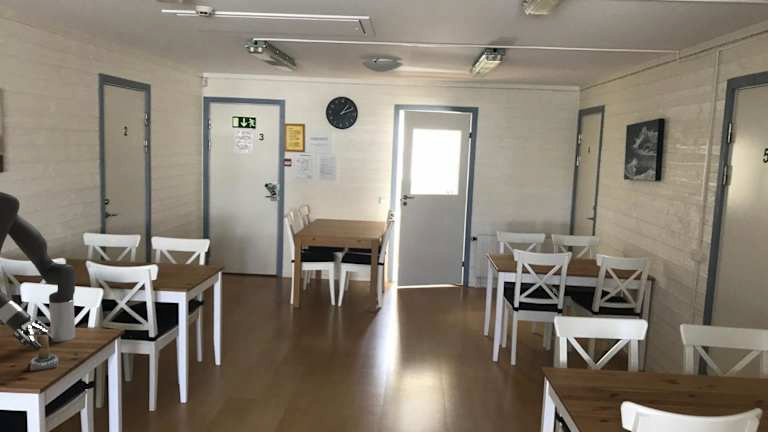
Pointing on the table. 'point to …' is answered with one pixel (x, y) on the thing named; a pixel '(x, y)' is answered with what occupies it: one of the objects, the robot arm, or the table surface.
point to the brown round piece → (43, 349)
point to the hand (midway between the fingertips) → (46, 344)
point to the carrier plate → (44, 364)
